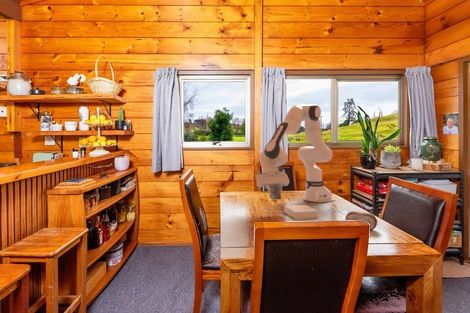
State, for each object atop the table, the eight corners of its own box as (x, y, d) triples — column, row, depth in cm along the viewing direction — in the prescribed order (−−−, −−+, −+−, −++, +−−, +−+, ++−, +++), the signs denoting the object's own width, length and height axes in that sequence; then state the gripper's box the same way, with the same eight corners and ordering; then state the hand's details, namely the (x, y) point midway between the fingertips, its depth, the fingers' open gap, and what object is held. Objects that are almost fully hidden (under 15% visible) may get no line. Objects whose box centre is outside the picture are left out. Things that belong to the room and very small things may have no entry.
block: (277, 197, 191) (277, 186, 190) (280, 199, 186) (280, 187, 185) (270, 197, 190) (270, 186, 189) (272, 199, 185) (272, 187, 184)
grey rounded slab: (377, 230, 156) (377, 214, 156) (376, 232, 153) (376, 215, 153) (345, 226, 164) (346, 210, 163) (344, 227, 161) (345, 211, 160)
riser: (305, 211, 195) (305, 204, 195) (317, 217, 179) (318, 210, 179) (284, 212, 192) (284, 205, 191) (295, 219, 176) (295, 212, 176)
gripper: (255, 170, 191) (260, 189, 182) (286, 169, 195) (292, 187, 187) (253, 176, 196) (258, 195, 187) (284, 175, 200) (289, 193, 191)
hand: (275, 191), depth 187 cm, fingers closed on block, 5 cm apart
